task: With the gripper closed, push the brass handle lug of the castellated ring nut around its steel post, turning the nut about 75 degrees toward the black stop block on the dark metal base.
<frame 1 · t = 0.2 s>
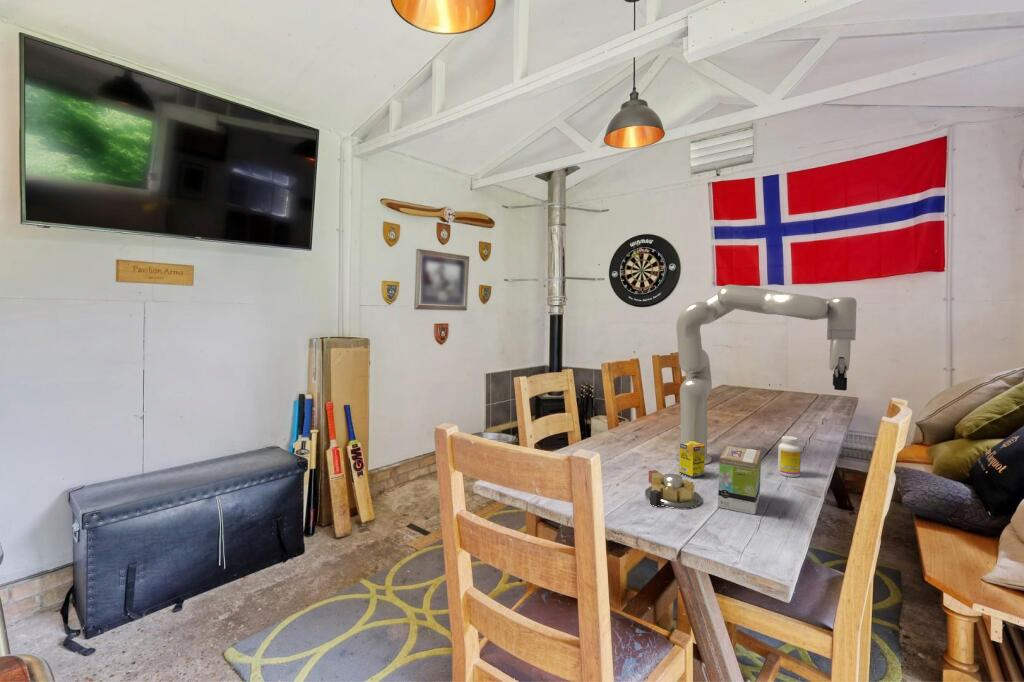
hand: (839, 388, 149), 31 cm above the table, tool pointing down, fingers open, 9 cm apart
supplement box: (691, 475, 158), on the table
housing: (672, 497, 138), on the table
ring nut: (667, 484, 140), point 3 cm above the table, hinge at 0.0°
tea box: (739, 503, 134), on the table
supplement bottle: (788, 474, 158), on the table
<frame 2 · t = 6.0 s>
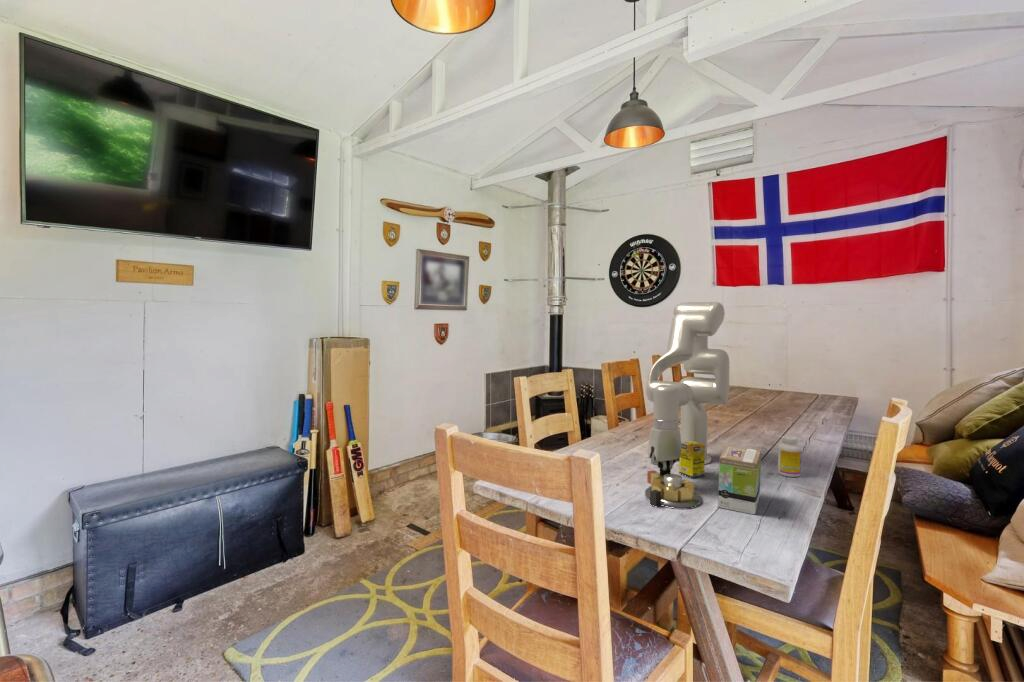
hand: (665, 480, 146), 2 cm above the table, tool pointing down, fingers closed
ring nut: (667, 484, 140), point 3 cm above the table, hinge at 2.8°, touching gripper
everything else where it was.
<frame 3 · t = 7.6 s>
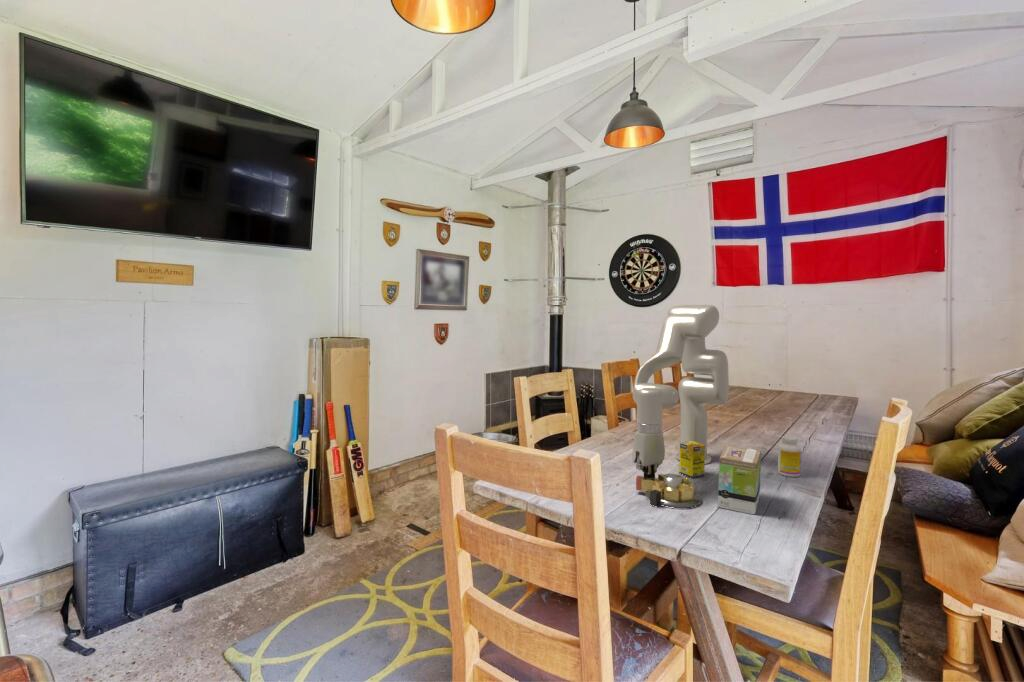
hand: (649, 484, 144), 2 cm above the table, tool pointing down, fingers closed
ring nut: (664, 485, 139), point 3 cm above the table, hinge at 49.2°, touching gripper
everything else where it was.
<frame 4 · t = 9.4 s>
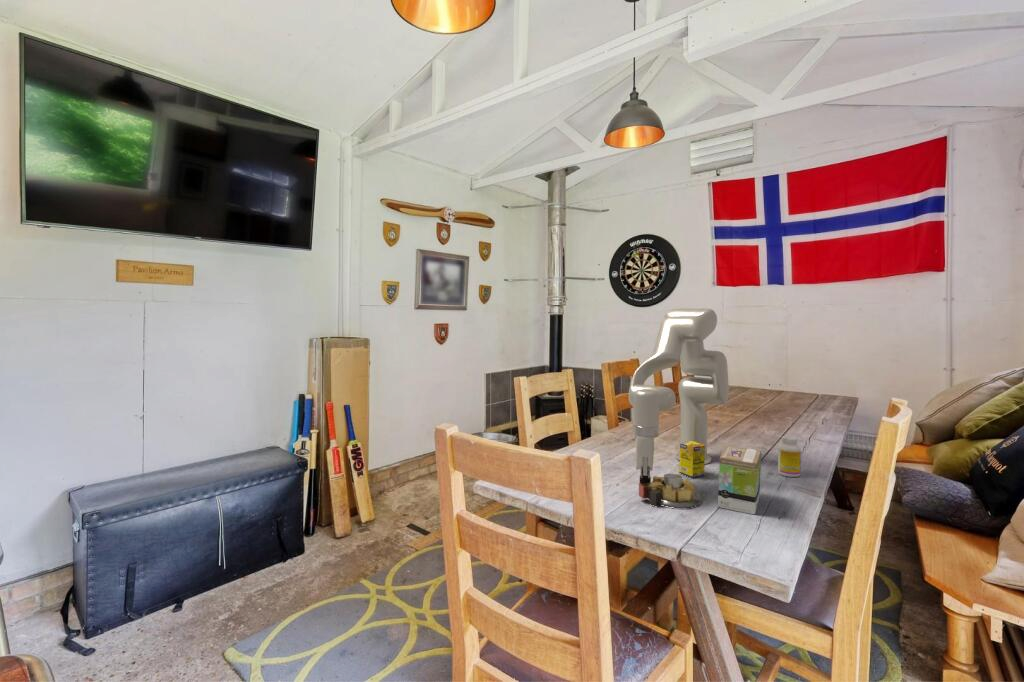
hand: (645, 489, 140), 2 cm above the table, tool pointing down, fingers closed
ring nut: (665, 487, 137), point 3 cm above the table, hinge at 86.3°
everything else where it was.
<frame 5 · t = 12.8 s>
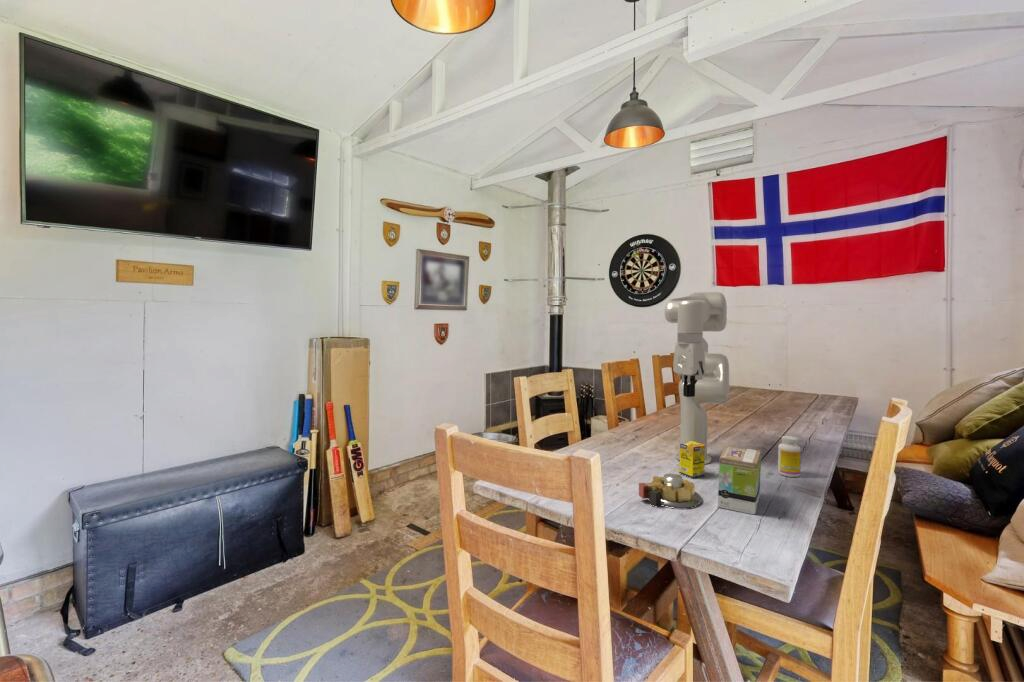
hand: (689, 396, 146), 29 cm above the table, tool pointing down, fingers closed
nothing on the table moved.
at the end: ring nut at +86° (first picture: +0°) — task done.
